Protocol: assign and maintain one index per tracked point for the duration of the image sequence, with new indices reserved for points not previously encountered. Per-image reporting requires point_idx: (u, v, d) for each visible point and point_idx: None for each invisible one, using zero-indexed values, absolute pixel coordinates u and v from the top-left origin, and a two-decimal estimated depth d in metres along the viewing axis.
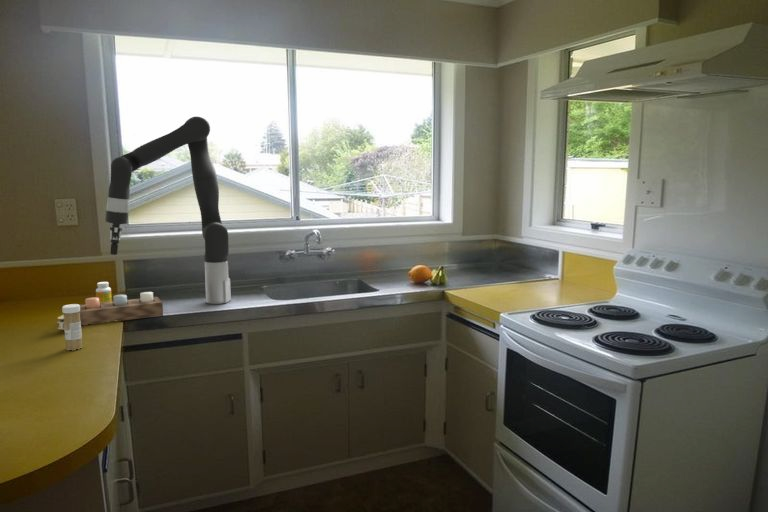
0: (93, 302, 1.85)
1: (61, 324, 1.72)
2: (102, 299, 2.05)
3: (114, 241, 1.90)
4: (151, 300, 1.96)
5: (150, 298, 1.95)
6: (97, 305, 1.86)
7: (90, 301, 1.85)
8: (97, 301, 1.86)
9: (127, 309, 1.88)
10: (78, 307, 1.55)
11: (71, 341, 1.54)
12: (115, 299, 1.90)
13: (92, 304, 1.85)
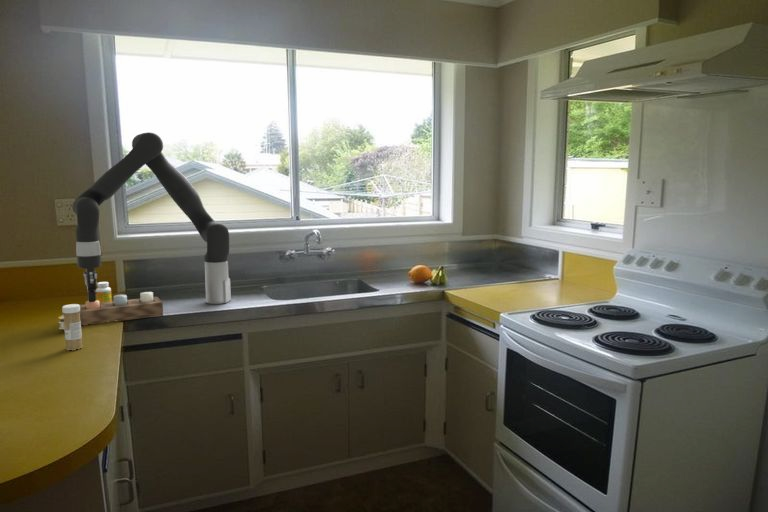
0: (93, 305, 1.85)
1: (62, 324, 1.72)
2: (102, 299, 2.05)
3: (91, 289, 1.83)
4: (151, 300, 1.96)
5: (150, 298, 1.95)
6: None
7: (90, 304, 1.85)
8: (97, 304, 1.86)
9: (127, 309, 1.88)
10: (78, 307, 1.55)
11: (71, 341, 1.54)
12: (115, 299, 1.90)
13: (92, 307, 1.85)
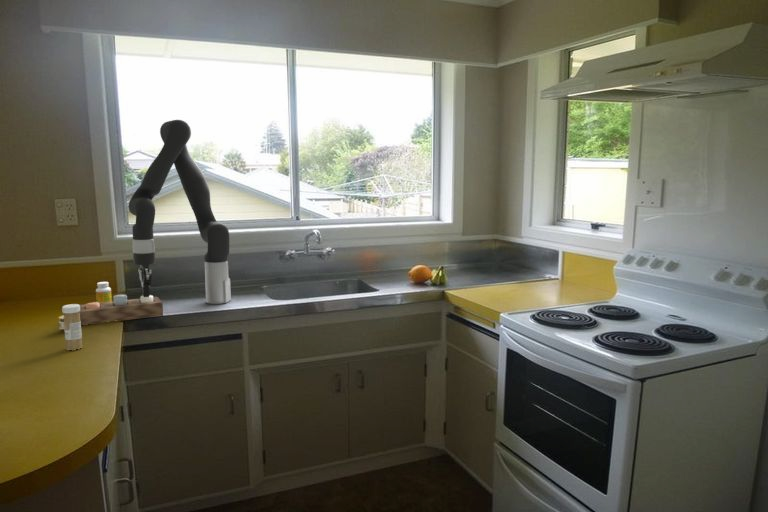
0: (93, 307, 1.85)
1: (62, 324, 1.72)
2: (102, 299, 2.05)
3: (146, 284, 1.93)
4: None
5: (150, 301, 1.96)
6: None
7: (90, 306, 1.85)
8: (97, 306, 1.86)
9: (127, 309, 1.88)
10: (78, 307, 1.55)
11: (71, 341, 1.54)
12: (115, 299, 1.90)
13: None
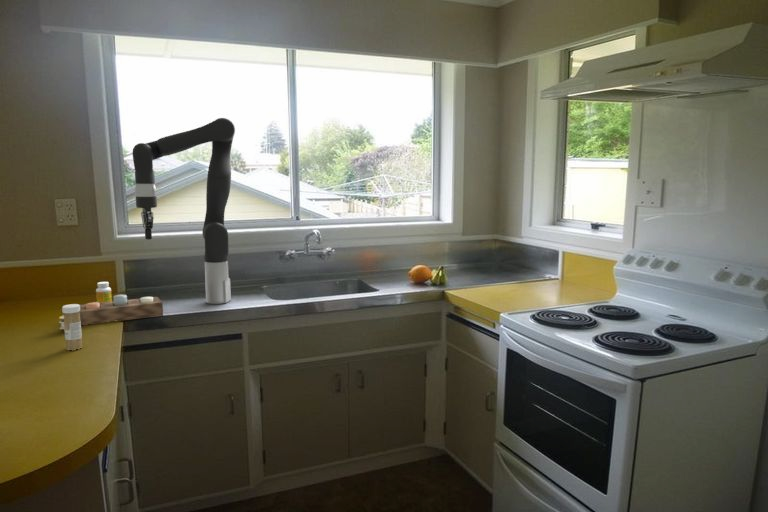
0: (93, 307, 1.85)
1: (63, 324, 1.72)
2: (102, 299, 2.05)
3: (148, 226, 2.03)
4: None
5: None
6: None
7: (90, 306, 1.85)
8: (97, 306, 1.86)
9: (127, 309, 1.88)
10: (78, 307, 1.55)
11: (71, 341, 1.54)
12: (115, 299, 1.90)
13: None
